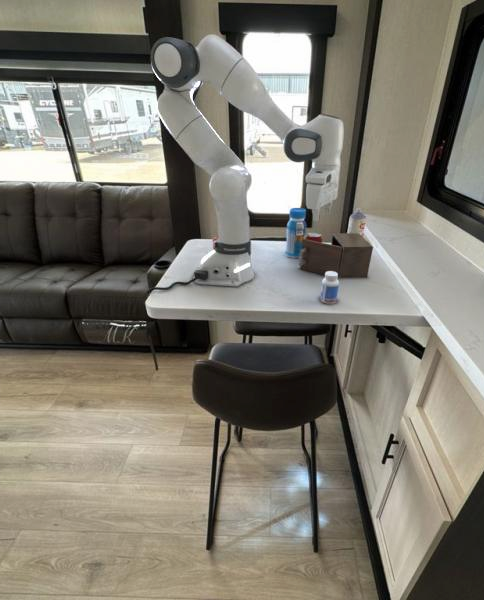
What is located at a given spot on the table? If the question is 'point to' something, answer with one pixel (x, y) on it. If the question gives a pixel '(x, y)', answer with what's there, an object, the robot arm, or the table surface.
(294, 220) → the beverage bottle
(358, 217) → the aerosol can
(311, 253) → the cupboard door
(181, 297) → the table surface
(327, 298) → the pill bottle
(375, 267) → the table surface
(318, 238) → the soda can
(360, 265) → the cupboard
